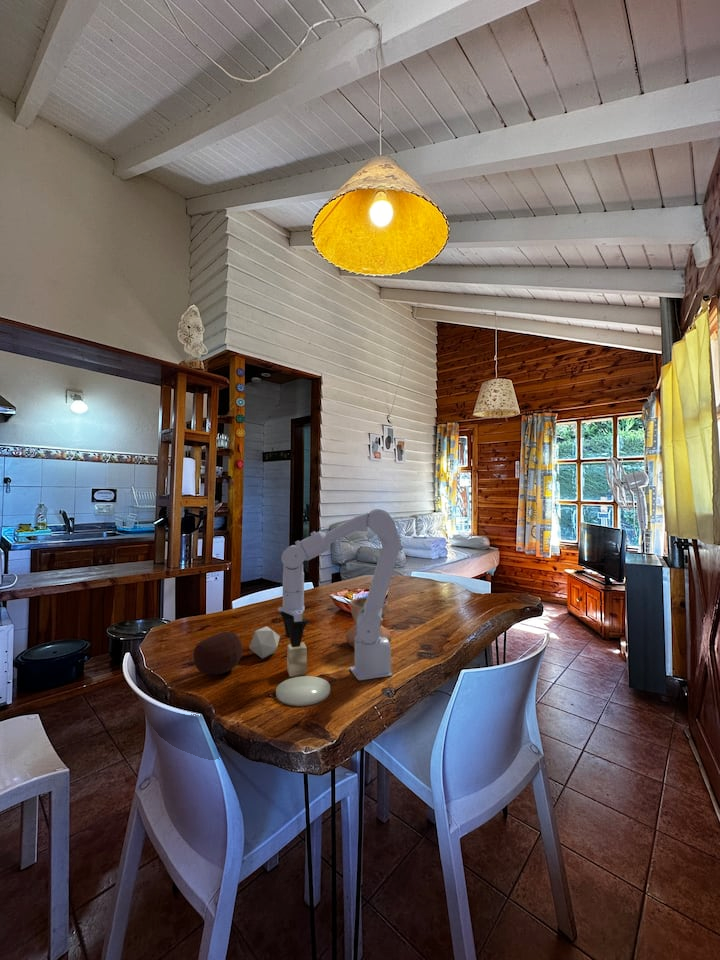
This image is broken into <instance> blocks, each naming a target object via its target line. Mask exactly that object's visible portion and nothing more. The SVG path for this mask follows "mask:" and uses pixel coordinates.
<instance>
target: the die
mask: <svg viewBox="0 0 720 960" xmlns="http://www.w3.org/2000/svg"><path fill="white" fill-rule="evenodd" d="M280 638H281V636H280V635H279V634H277V632H275V631H274V630H272V629H271V628H270V627H269V626H263V627H262V628H259V629H257V630H255V631H254V633H253V637H252V638H251V642H250V644H249V648H248V649H250V651H252V653H253V652H254V653H255V654H256V655H257V656H258V657H260V658H261V659H262V660H263V659H265V658H267V657H269V656H271V655H273V654H275V652H276V650H277V648H278V646H279V641H280Z"/></svg>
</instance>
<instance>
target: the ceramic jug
mask: <svg viewBox="0 0 720 960" xmlns="http://www.w3.org/2000/svg"><path fill="white" fill-rule="evenodd" d="M366 599H367V596H366V597H364V596H363V597H362V596H361V597H356V598H352V599H351V600H350V601H349V607H350V613H351V615H352V619H353V621H354V625H353V626H352V627H351V628H350V629H348V630H347V632H346V635H345V639H346V642H347V643H348V645H349V646H351V648H354V649H355V636H356V635H357V631H356V630H357V625H356V618H357V615H358V614H359V613H360V612H361V611H362V609H363V606H364V604H365V602H366ZM387 609H388V601H387V600H384V604H383V607H382V615H381V620H380V629H381V632H380V636H381V637H386V638H387V639H388V641H389V643H390V644H391V640H392V634H391V631H389V629H387V628H386V627H385V626H383V625H382V623H384V619H385V616H386V613H387Z"/></svg>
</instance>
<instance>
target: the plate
mask: <svg viewBox="0 0 720 960" xmlns="http://www.w3.org/2000/svg"><path fill="white" fill-rule="evenodd" d="M330 694H331V684H330V683H329V682H328V681H327V680H326V679H324V678H321V677H317V676H314V675H313V676H311V675H309V676H308V675H307V676H306V675H305V676H304V675H300V676H294V677H291V678H287V679H285V680H284V681H282V682H281V683H279V684H278V686H277V687H276V688H275V697H276V699H277V700H278V701H279V702H280V703H283V704H285V705H288V706H295V707H296V706H297V707H305V706H311V705H315V704H319V703H321V702H323V701H324V700H326V699H327V698H328V697H329V696H330Z"/></svg>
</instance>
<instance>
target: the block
mask: <svg viewBox="0 0 720 960" xmlns="http://www.w3.org/2000/svg"><path fill="white" fill-rule="evenodd" d="M286 646H287V650H286V651H287V653H286V657H287V658H286V670H287V673H288V676H289V678H290V677H291V678H292V677H299V676H304V675H305V676H306V675H307V672H308V670H307V665H308V663H307V662H308V660H307V659H308V657H307V656H308V655H307V653H308V650H307V649H308V648H307V646H306V644H305V642H304V641H301V644H300V646H299V647H292V646H291V643H287V644H286Z"/></svg>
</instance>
